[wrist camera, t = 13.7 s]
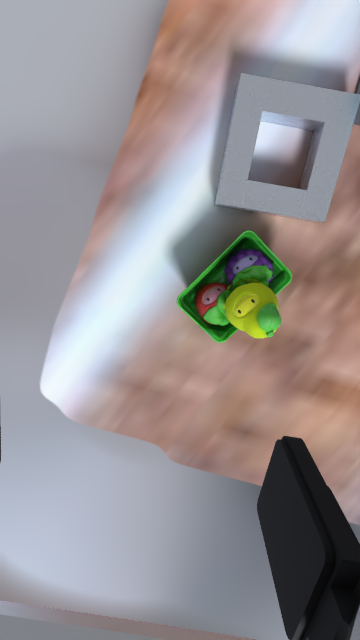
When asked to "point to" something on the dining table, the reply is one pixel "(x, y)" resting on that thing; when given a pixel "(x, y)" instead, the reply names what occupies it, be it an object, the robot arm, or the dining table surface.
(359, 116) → the mat
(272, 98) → the frame
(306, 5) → the dining table surface
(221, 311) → the fruit basket
